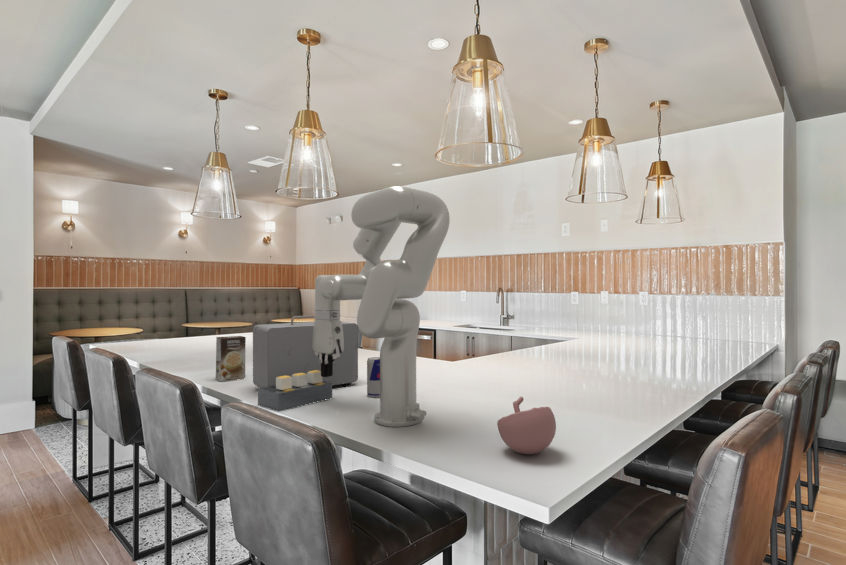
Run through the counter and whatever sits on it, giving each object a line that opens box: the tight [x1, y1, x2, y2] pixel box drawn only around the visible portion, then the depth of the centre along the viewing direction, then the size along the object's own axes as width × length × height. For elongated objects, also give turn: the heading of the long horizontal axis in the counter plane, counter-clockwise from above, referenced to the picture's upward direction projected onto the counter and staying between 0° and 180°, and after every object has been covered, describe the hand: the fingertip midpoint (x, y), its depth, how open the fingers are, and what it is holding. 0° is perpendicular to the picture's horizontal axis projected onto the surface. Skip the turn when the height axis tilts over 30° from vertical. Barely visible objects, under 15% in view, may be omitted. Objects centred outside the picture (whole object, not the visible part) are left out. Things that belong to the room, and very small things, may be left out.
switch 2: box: [292, 373, 308, 387], centre depth 141 cm, size 3×3×3 cm
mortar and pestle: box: [497, 396, 557, 455], centre depth 98 cm, size 12×12×12 cm
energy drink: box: [366, 356, 380, 399], centre depth 149 cm, size 5×5×12 cm
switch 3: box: [307, 370, 322, 384], centre depth 145 cm, size 3×3×3 cm
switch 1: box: [276, 375, 292, 390], centre depth 137 cm, size 3×3×3 cm
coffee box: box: [215, 335, 246, 383], centre depth 177 cm, size 9×6×16 cm
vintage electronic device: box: [252, 314, 359, 388], centre depth 163 cm, size 32×18×25 cm, turn 126°
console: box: [257, 381, 333, 412], centre depth 142 cm, size 11×19×5 cm, turn 140°
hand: (326, 376), depth 141 cm, fingers closed
